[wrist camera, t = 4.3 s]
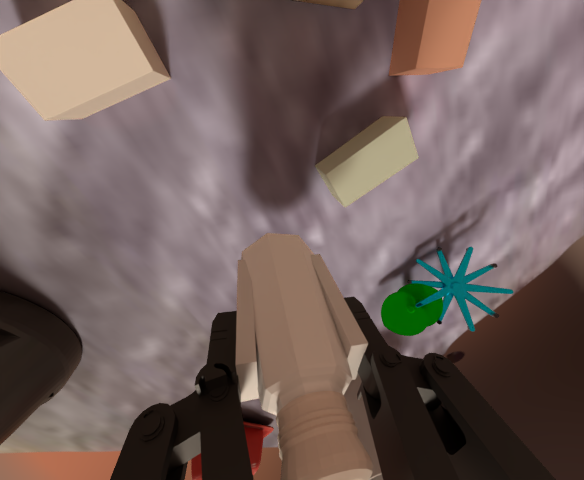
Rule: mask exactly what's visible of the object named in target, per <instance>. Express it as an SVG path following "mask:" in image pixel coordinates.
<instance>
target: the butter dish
mask: <svg viewBox="0 0 584 480" xmlns="http://www.w3.org/2000/svg"><path fill="white" fill-rule="evenodd" d="M243 423H244V429H245V434H246V440H247V446H248V451H249V457H250V463H251V468H252V474H253V475H254V474H255V472H256V471H257V470H258V468H259V465H260V461H261V453H262V445H263V438H264V437H266V436H267V435H268V434H270V433H271V432H272V431H273V429H274V428H273V427H271V426H266V425H261V424H255V423H250V422H245V421H243ZM192 480H202V467H201V453H200V454H198V455H197V456H195V457H194V458H192Z"/></svg>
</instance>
